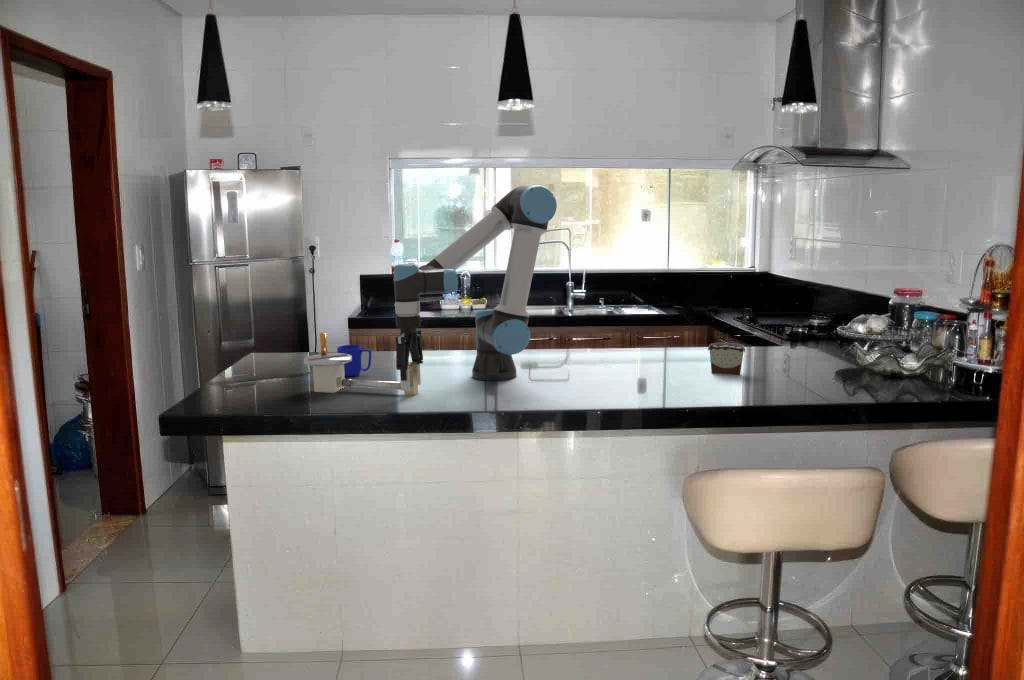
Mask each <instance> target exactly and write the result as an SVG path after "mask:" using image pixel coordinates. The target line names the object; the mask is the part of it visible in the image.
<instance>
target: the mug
mask: <svg viewBox="0 0 1024 680" xmlns="http://www.w3.org/2000/svg"><path fill="white" fill-rule="evenodd" d="M336 349H337V351H336V352H337V353H344V354H349V355H351V356H352V361H351V362H349V363H345V364H344V373H345V377H355V376H359V375H360V374H361V371H362V372H366V371H368V370H369V369H370V367H371V365H372V350H371V349H368V348H362V346H361V345H360V344H345V345H340V346H337V348H336ZM363 352H368V364H367V367H366V368H363V367H362V354H363Z"/></svg>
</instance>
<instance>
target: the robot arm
mask: <svg viewBox="0 0 1024 680" xmlns="http://www.w3.org/2000/svg"><path fill="white" fill-rule="evenodd" d="M557 207H558V204H557V199H556V196H555V194H554V193H553V192H552V191H551V190H550V188H548V187H546V186H543V185H539V184H530V185H520V186H517V187H515V188H513V189H512V190H511V191H509V192H508V193H506V194H505V195H504V196H502V198H501V199H500V200H499V201H497V203H495V204H494V205H493V206H492V207H491V210H490V212H489V213H488V214H487V215H485V216H484V217H483V218H482V219H480V220H479V221H478V222H477V223H476V224H474V225H473V226H472V227H471V228H469V229H468V230H467V231H466V232H464V233H463V234H462V235H461V236H459V237H458V238H457V239H456V240H455V241H453V242H452V243H451V244H449V245H448V246H447V247H446V248H444V250H442V251H441V252H440V253H438V254H437V255H436V256H435V257H433V259H431V260H430V261H428V262H427V263H426V264H424V265H420V266H419V265H418V264H416V263H400V264H396V265H395V266H394V267H393V279H392V281H393V285H394V286H393V288H394V292H393V293H394V302H395V303H394V304H393V306H394V307H395V314H396V316H395V327H396V328H397V329H400V333H399V336H395V344H396V349H395V350H396V351H395V353H396V355H395V361H396V362H395V369H396V370H397V371H399V376H400V377H399V378H400V382H401V390H400V391H403V392H404V391H410V377H409V370H408V362H410V358H411V362H417V381H418V386H420V385H421V384H422V382H421V381H422V380H421V364H423V363H424V354H423V347H422V346H423V345H422V343H423V342H422V330H421V329H418V328H420V327H421V325H422V324H421V315H420V313H421V304H420V303H421V302H420V300H421V299H420V296H421V295H435V294H437V295H438V294H439V295H440V294H447V295H448V294H450V293H456V291H457V290H458V286H459V279H458V274H457V270H458V269H459V268H460V267H462V266H463V265H464V264H465V263H467V261H469V260H470V259H472V258H473V257H474V256H475V255H476V254H478V253H479V252H480V251H481V250H482V249H484V248H485V247H486V246H487V245H489V244H491V242H492V241H494V240H495V239H496V238H498V236H500V235H501V234H502V233H503V232H505V231H511V230H512V229H513V231H514V232H513V235H512V241H511V246H510V251H509V256H508V260H507V266H506V270H505V274H504V281H503V285H502V290H501V294H500V295H501V296H500V300H499V303H498V305H497V306H494V307H493V309H481V310H477V312H476V313H475V318H474V319H475V334H476V335H475V337H476V338H475V339H476V354H475V355H476V357H475V360H474V361H473V362H474V363H473V365H472V366H473V367H472V373H471V376H472V378H473V379H476V380H479V381H490V382H491V381H494V382H495V381H505V380H509V379H510V380H511V379H513V378H515V377H517V367H516V364H515V362H514V359H513V356H512V355H516V354H519V353H520V352H522V351H524V350H525V349H526V348H527V347H528V345H529V342H530V339H531V332H530V328H529V326H528V324H529V320H530V314H529V313H528V311H527V305H528V301H529V300H528V299H529V295H530V290H531V284H532V279H533V277H534V271H535V266H536V261H537V256H538V251H539V246H540V240H541V237H542V235H544V234H545V233H547V232H548V231H547V230H548V226H549V222H550V221H551V220H552V219H553V217H555V215H556V212H557V209H558V208H557Z"/></svg>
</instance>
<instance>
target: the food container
mask: <svg viewBox="0 0 1024 680" xmlns="http://www.w3.org/2000/svg"><path fill="white" fill-rule="evenodd" d="M707 351H709V359H710V373H711V374H712V375H724V376H738V377H740V376H741V374H742V373H741V372H742V363H743V358H744V357H743V356H744V353H746V348H745V345H743V344H740V343H736V342H714V343H710V344H709V345H708V348H707Z"/></svg>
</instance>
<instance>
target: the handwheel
mask: <svg viewBox="0 0 1024 680" xmlns="http://www.w3.org/2000/svg"><path fill="white" fill-rule="evenodd" d="M319 341H320V342H319V344H320V353H319V354H318V353H317V354H313V355H309V356H305V357H304V358H303V363H304V364H305V365H307V366H310V367H313V366H334V365H341V364H345V363H349V362H351V361H352V356H351V355H349V354H344V353H338V352H330V353H328V343H327V332H319Z"/></svg>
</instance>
